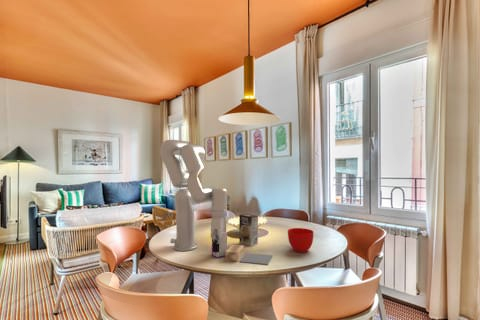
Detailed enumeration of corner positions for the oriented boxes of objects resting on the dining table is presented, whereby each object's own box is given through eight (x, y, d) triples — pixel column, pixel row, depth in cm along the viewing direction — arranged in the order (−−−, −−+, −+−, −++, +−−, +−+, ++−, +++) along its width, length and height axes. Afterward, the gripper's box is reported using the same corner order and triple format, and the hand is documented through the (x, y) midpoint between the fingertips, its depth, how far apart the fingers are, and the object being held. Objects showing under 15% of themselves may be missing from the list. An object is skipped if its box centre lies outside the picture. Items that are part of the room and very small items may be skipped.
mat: (239, 262, 117) (239, 261, 117) (246, 253, 128) (246, 252, 128) (268, 264, 113) (268, 264, 113) (272, 255, 125) (272, 255, 125)
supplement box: (227, 255, 125) (227, 232, 126) (217, 258, 122) (217, 234, 122) (221, 252, 130) (221, 229, 130) (211, 255, 127) (211, 231, 127)
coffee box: (238, 243, 146) (238, 214, 147) (246, 240, 151) (246, 213, 152) (251, 246, 140) (250, 216, 141) (258, 243, 145) (258, 215, 145)
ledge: (225, 260, 119) (225, 251, 119) (232, 252, 130) (232, 244, 130) (237, 261, 118) (237, 252, 118) (244, 253, 128) (243, 245, 128)
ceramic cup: (304, 243, 144) (303, 225, 145) (318, 253, 128) (318, 233, 128) (281, 245, 142) (281, 226, 143) (293, 255, 126) (293, 234, 126)
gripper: (218, 210, 136) (218, 243, 135) (205, 216, 119) (205, 254, 119) (231, 210, 134) (232, 244, 133) (220, 217, 117) (220, 255, 117)
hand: (219, 248), depth 126 cm, fingers open, 8 cm apart
